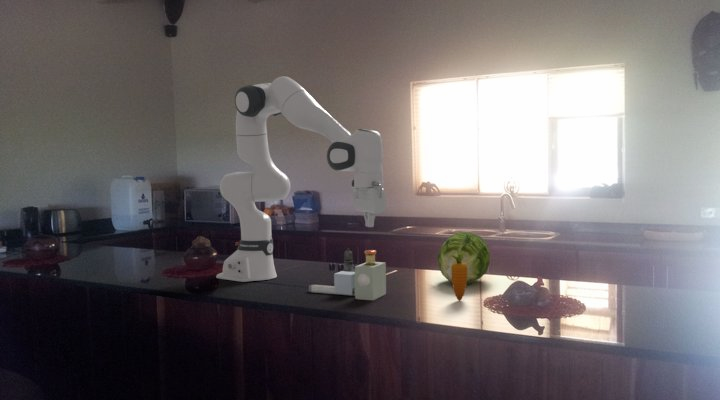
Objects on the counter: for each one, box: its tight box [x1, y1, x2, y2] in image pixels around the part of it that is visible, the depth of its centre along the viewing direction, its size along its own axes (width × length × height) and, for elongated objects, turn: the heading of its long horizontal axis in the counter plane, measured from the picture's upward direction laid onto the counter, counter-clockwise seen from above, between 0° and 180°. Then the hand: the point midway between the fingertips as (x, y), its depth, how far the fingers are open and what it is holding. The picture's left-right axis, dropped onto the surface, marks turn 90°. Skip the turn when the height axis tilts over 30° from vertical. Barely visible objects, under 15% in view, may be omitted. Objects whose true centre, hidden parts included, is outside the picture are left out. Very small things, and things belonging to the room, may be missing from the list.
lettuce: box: [437, 231, 491, 285], centre depth 203 cm, size 17×23×17 cm
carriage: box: [333, 270, 355, 296], centre depth 188 cm, size 6×5×6 cm
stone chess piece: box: [342, 247, 355, 272], centre depth 209 cm, size 6×6×12 cm
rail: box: [308, 284, 355, 297], centre depth 190 cm, size 18×2×2 cm, turn 65°
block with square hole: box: [354, 261, 387, 301], centre depth 184 cm, size 6×10×10 cm, turn 155°
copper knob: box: [364, 249, 377, 266], centre depth 184 cm, size 4×4×6 cm
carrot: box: [451, 250, 467, 302], centre depth 177 cm, size 5×5×15 cm
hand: (369, 226), depth 183 cm, fingers closed
